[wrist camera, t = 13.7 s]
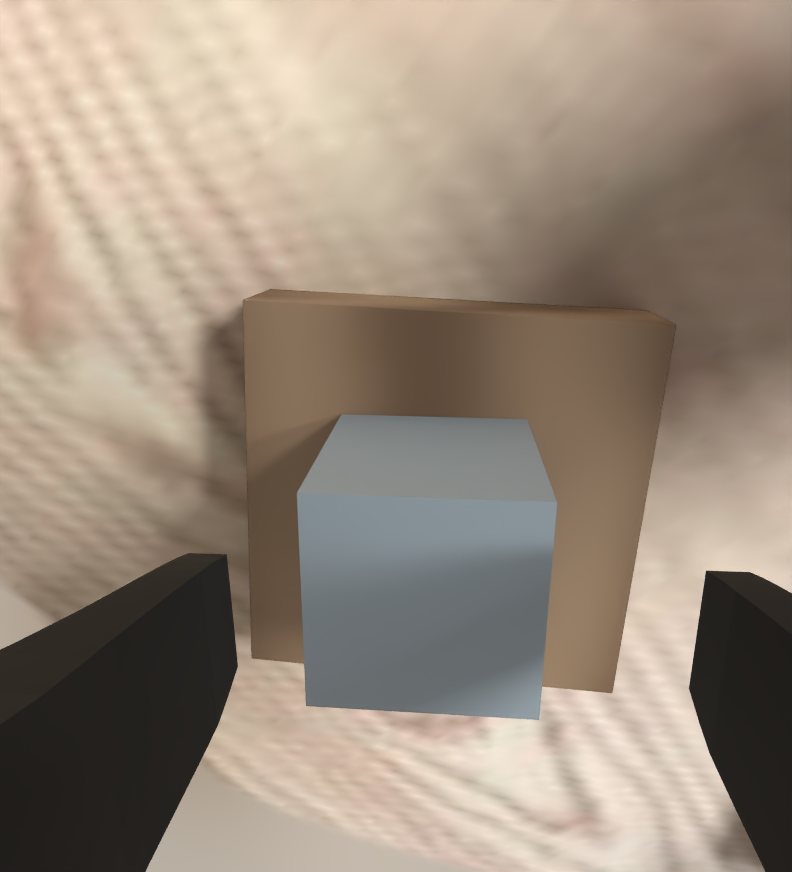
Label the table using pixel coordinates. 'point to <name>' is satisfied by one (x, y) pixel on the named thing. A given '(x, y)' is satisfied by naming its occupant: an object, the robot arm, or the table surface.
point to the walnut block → (465, 398)
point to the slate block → (426, 566)
